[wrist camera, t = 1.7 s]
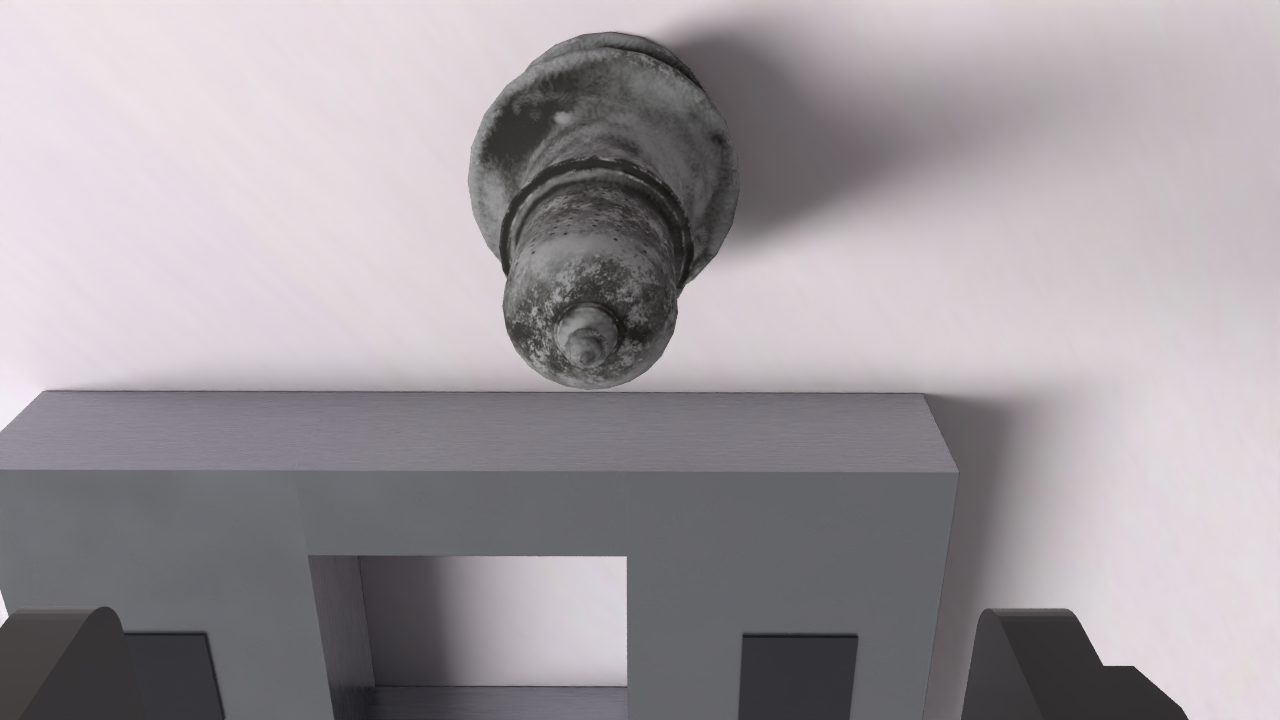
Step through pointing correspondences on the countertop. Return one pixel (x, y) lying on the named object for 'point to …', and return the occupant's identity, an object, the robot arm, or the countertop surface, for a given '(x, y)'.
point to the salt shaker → (601, 203)
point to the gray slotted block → (491, 541)
